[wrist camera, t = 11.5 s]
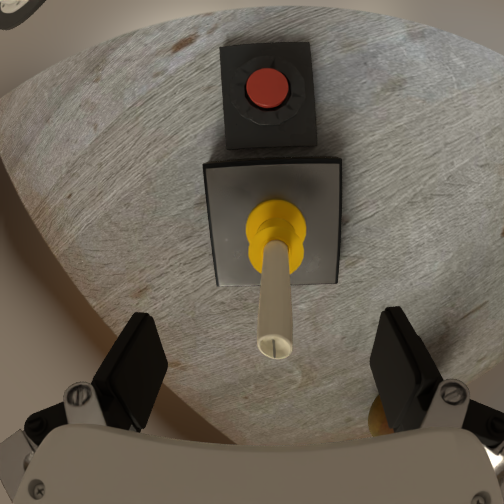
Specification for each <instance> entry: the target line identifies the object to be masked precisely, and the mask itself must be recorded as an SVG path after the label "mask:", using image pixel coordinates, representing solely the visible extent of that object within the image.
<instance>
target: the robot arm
mask: <svg viewBox="0 0 504 504" xmlns="http://www.w3.org/2000/svg"><path fill="white" fill-rule="evenodd" d="M28 1H29V0H0V2H1V10H2V12H4V13H13V12H15V11H17V10H18V9H20V8H21V7H22V6H24V5H25V4H26V3H27V2H28ZM370 367H371V370H372V373H373V376H374V379H375V383H376V386H377V389H378V392H379V395H380V399H381V402H382V405H383V409H384V412H385V416H386V419H387V423H388V426H389V428H390V429H392V428H393V431H394V433H392V434H387V435H381V436H376V437H370V438H363V439H356V440H349V441H341V442H332V443H321V444H307V445H285V446H250V445H228V444H214V443H203V442H194V441H186V440H178V439H172V438H166V437H159V436H154V435H148V434H143V433H140V432H141V429H144V428H145V427H146V424H147V421H148V419H149V416H150V413H151V411H152V408H153V405H154V403H155V400H156V397H157V395H158V392H159V390H160V387H161V384H162V382H163V379H164V376H165V374H166V371H167V368H168V362H167V359H166V356H165V353H164V350H163V347H162V344H161V341H160V338H159V335H158V332H157V329H156V325H155V322H154V319H153V317H151V316H150V315H149V314H148V313H141V312H135V313H134V314H133V315H132V317H131V318H130V320H129V321H128V323H127V324H126V326H125V327H124V329H123V330H122V332H121V334H120V335H119V337H118V338H117V340H116V341H115V343H114V345H113V346H112V348H111V350H110V351H109V353H108V354H107V356H106V358H105V359H104V361H103V362H102V364H101V366H100V367H99V369H98V371H97V372H96V374H95V376H94V378H93V381H92V382H91V384H90V383H88V382H76V383H74V384H72V385H71V386H69V387H68V388H67V390H66V391H65V393H64V396H63V400H64V401H63V402H61V403H59V404H56V405H54V406H51V407H49V408H46V409H44V410H41V411H39V412H36V413H34V414H32V415H30V416H29V417H28V418H27V420H26V422H25V425H24V431H22V430H21V429H19V430H18V431H17V432H15V433H14V434H13V435H11V436H10V437H8V438H7V439H6V440H4V441H3V442H2V443H0V480H1V482H2V484H3V486H4V488H5V490H6V492H7V494H8V496H9V497H10V499H11V501H12V504H504V413H502V412H500V411H498V410H495V409H492V408H490V407H488V406H485V405H483V404H481V403H478V402H476V401H473V400H471V399H470V392H469V389H468V387H467V386H466V385H465V384H464V383H463V382H462V381H460V380H457V379H446V380H443V378H442V376H441V374H440V372H439V370H438V369H437V367H436V365H435V363H434V361H433V359H432V357H431V355H430V354H429V352H428V350H427V348H426V346H425V345H424V343H423V341H422V339H421V338H420V337H419V336H418V335H417V334H416V332H415V330H414V329H413V327H412V325H411V324H410V322H409V320H408V318H407V317H406V315H405V313H404V312H403V310H402V309H401V307H400V306H395V307H387V308H386V309H385V311H382V312H381V316H380V320H379V325H378V329H377V333H376V337H375V341H374V345H373V349H372V353H371V356H370Z"/></svg>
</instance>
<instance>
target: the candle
mask: <svg viewBox="0 0 504 504" xmlns="http://www.w3.org/2000/svg"><path fill="white" fill-rule="evenodd" d="M246 236H247V239H248V241H249V243H250V245H249V249H248V255H249V259H250V262H251V264H252V265H253V267H254V268H255V269H256V270H257V271H258V272H259V273H261V274H262V275H261V287H260V298H259V309H258V327H257V346H258V348H259V350H260V351H261V352H262V353H263V354H264V355H266V356H267V357H270V358H274V359H282V358H285V357H288V356H289V355H290V354H291V353H292V351H293V346H292V340H293V321H292V303H291V287H290V274H291V273H293V272H294V271H295V270H297V268H298V267H299V266H300V264H301V262H302V260H303V256H304V248H303V242H304V239H305V237H306V223H305V219H304V217H303V215H302V213H301V212H300V211H299V209H298V208H297V207H296V206H294V205H293V204H291V203H289V202H286V201H283V200H269V201H265V202H263V203H261V204H259V205H258V206H257V207H255V208H254V209H253V210H252V212H251V213H250V215H249V216H248V220H247V223H246Z"/></svg>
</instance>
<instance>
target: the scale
mask: <svg viewBox="0 0 504 504" xmlns="http://www.w3.org/2000/svg"><path fill="white" fill-rule="evenodd" d="M203 174H204V184H205V194H206V203H207V213H208V221H209V230H210V238H211V247H212V255H213V262H214V270H215V277H216V285H217V286H261V275H262V274H261V273H259V272H258V271H257V270H256V269H255V268H254V267H253V265H252V264H251V262H250V259H249V255H248V249H249V245H250V243H249V241H248V239H247V236H246V223H247V220H248V216H249V215H250V213H251V212H252V210H253V209H254V208H255V207H257V206H258V205H259V204H261V203H263V202H265V201H269V200H283V201H286V202H289V203H291V204H293V205H294V206H296V207H297V208H298V209H299V211H300V212H301V213H302V215H303V217H304V219H305V223H306V237H305V239H304V242H303V248H304V256H303V260H302V262H301V264H300V266H299V267H298V268H297V270H295V271H294V272H293V273H291V274H290V285H312V284H337V283H338V274H339V260H340V243H341V220H342V159H341V158H338V157H331V156H306V157H268V158H249V159H233V160H221V161H209V162H207V163H204V164H203Z"/></svg>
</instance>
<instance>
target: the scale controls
mask: <svg viewBox="0 0 504 504" xmlns="http://www.w3.org/2000/svg"><path fill="white" fill-rule="evenodd" d="M220 64H221V80H222V95H223V109H224V123H225V137H226V149H227V150H231V149H245V148H263V147H291V146H317V133H316V114H315V98H314V84H313V72H312V61H311V52H310V43H309V42H276V43H256V44H243V45H233V46H224V47H220ZM263 68H272V69H275V70H277V71H279V72H281V73H282V74H283V75H284V76H285V78H286V79H287V82H288V93H287V96H286V98H285V100H284V101H283V102H282V103H281V104H280V105H278V106H276V107H273V108H263V107H260V106H258V105H256V104H255V103H254V102H253V101H252V100H251V98H250V97H249V95H248V93H247V89H246V85H247V81H248V78H249V77H250V76H251V74H253V73H254V72H255V71H257V70H259V69H263Z"/></svg>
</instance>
